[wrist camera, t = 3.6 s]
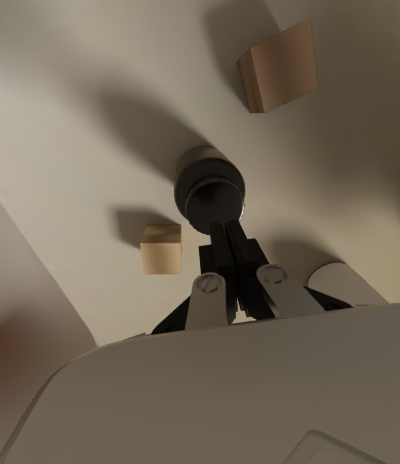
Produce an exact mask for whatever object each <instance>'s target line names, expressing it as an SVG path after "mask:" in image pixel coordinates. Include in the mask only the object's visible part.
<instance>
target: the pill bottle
mask: <svg viewBox="0 0 400 464" xmlns="http://www.w3.org/2000/svg"><path fill="white" fill-rule="evenodd" d="M308 288H311V289H314V290H316V291H319V292H321V293H324V294H326V295H329V296H332V297H334V298H337V299H339V300H342V301H344V302H346V303H348V304H350V305H351V306H353V307H355V304H365V305H381V304H390V303H389V302H387V301H386V300H385V299H384V298H383V297H382V296H381V295H380V294H379V293H378V292H377V291H376V290H375V289H374V288H373V287H371V286H370V285H369V284H368V283H367V282H366V281H365V280H364V279H363V278H362V277H361V276H360V275H359V274H358V273H357V272H355V271H354V270H353V269H352V268H351V267H349V266H348V265H346V264H343V263H331V264H327V265H325V266H323V267H321V268H319V269H318V270H316V271H315V272H314V273H313V274H312V276H311V277H310V279H309V282H308Z"/></svg>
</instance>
